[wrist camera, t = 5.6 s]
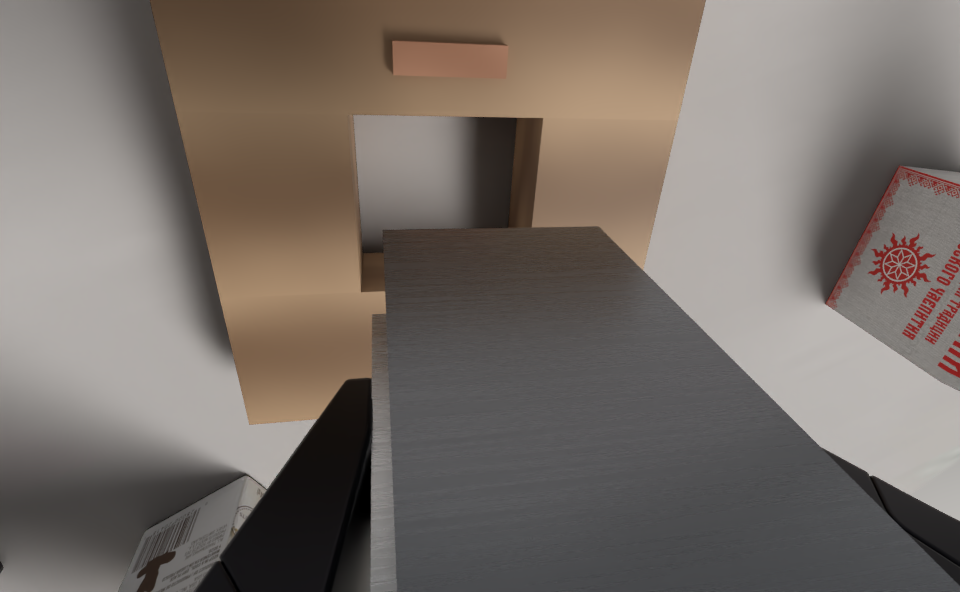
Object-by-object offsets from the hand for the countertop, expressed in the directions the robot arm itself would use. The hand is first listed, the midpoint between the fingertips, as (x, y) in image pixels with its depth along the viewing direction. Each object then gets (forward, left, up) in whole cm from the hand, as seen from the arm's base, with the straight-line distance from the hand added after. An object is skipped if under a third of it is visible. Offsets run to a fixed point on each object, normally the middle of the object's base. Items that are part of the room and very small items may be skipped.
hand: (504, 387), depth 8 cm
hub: (0, 0, -11) cm, 11 cm away
